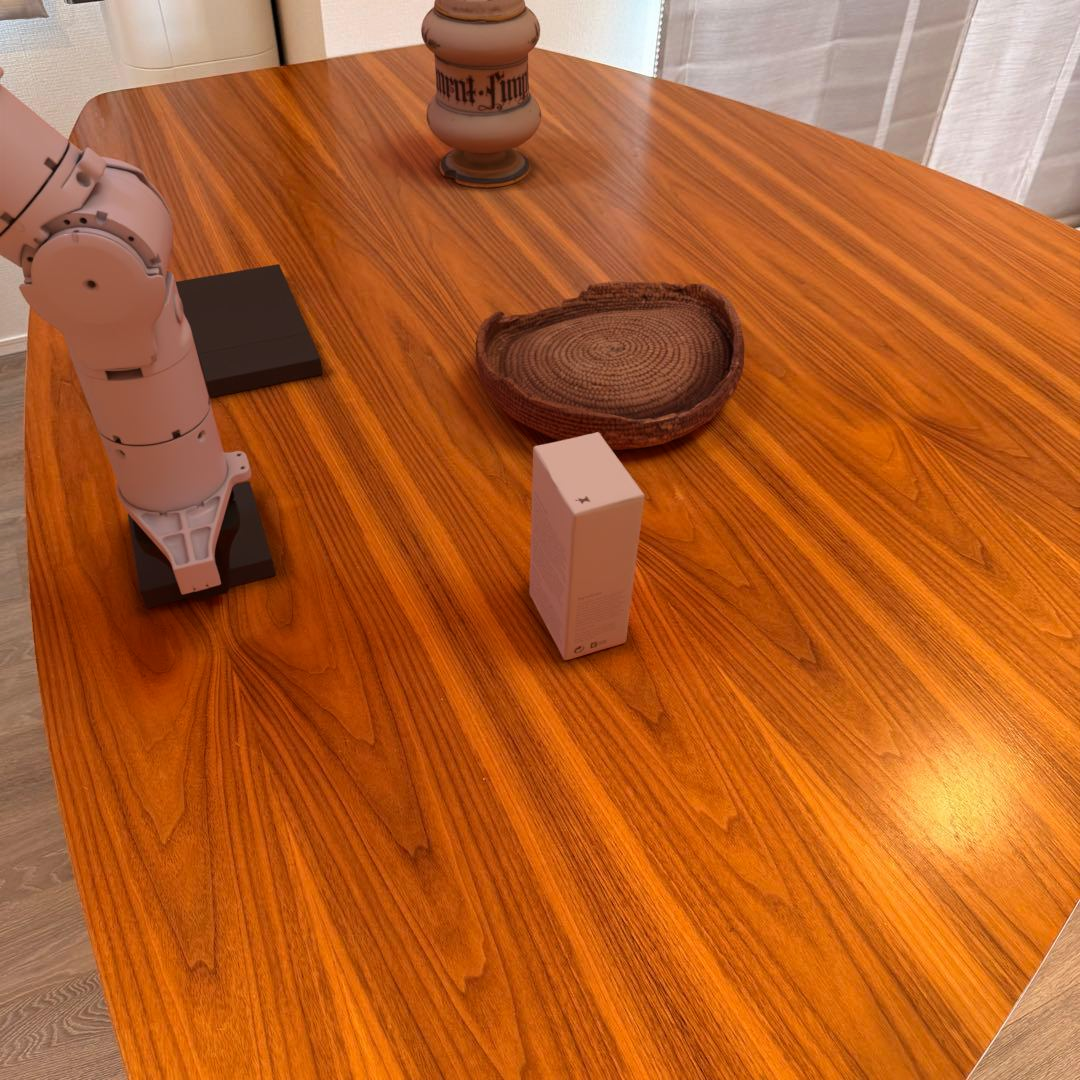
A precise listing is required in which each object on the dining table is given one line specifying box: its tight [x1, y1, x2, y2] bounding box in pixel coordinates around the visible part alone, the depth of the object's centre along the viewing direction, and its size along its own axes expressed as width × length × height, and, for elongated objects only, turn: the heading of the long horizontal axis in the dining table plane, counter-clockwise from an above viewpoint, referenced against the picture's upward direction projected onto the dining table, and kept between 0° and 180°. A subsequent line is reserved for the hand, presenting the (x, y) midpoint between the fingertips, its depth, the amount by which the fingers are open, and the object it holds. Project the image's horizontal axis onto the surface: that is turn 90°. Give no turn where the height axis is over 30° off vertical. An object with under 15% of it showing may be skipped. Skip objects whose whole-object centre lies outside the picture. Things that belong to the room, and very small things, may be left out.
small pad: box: [127, 480, 277, 609], centre depth 64 cm, size 8×12×2 cm
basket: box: [475, 280, 745, 451], centre depth 77 cm, size 22×20×5 cm
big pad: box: [175, 263, 324, 399], centre depth 80 cm, size 16×16×2 cm
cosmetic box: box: [529, 432, 645, 661], centre depth 56 cm, size 6×4×12 cm
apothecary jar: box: [420, 0, 542, 189], centre depth 100 cm, size 12×12×18 cm
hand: (210, 589), depth 60 cm, fingers closed
